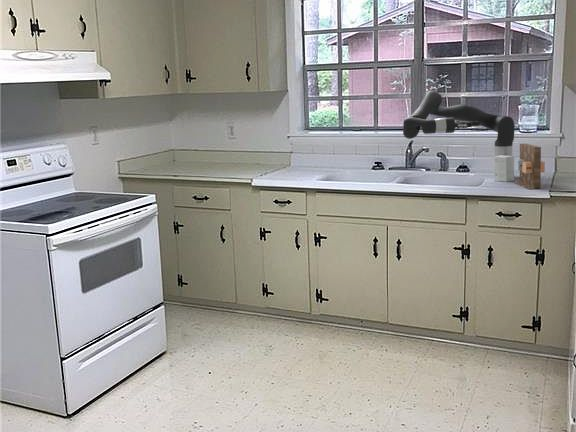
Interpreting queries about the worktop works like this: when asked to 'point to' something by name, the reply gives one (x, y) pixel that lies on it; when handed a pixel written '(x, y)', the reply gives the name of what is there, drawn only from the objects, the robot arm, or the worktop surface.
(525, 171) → the button two
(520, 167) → the button one
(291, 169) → the worktop surface
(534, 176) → the walnut board
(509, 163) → the small box
